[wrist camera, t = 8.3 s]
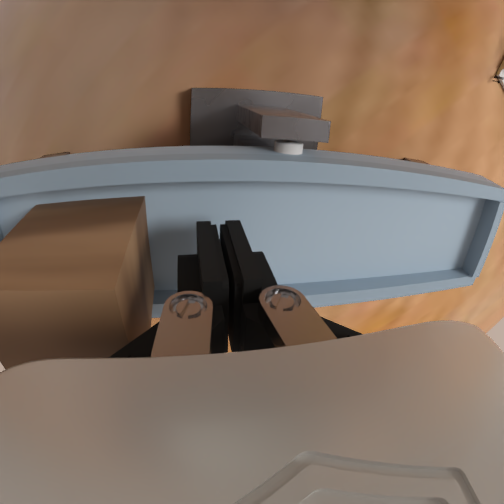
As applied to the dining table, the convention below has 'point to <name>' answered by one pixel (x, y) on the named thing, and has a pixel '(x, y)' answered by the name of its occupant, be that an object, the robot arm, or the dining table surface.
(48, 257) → the rider
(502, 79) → the baseboard molding
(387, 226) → the beam
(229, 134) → the stand
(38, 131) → the dining table surface
